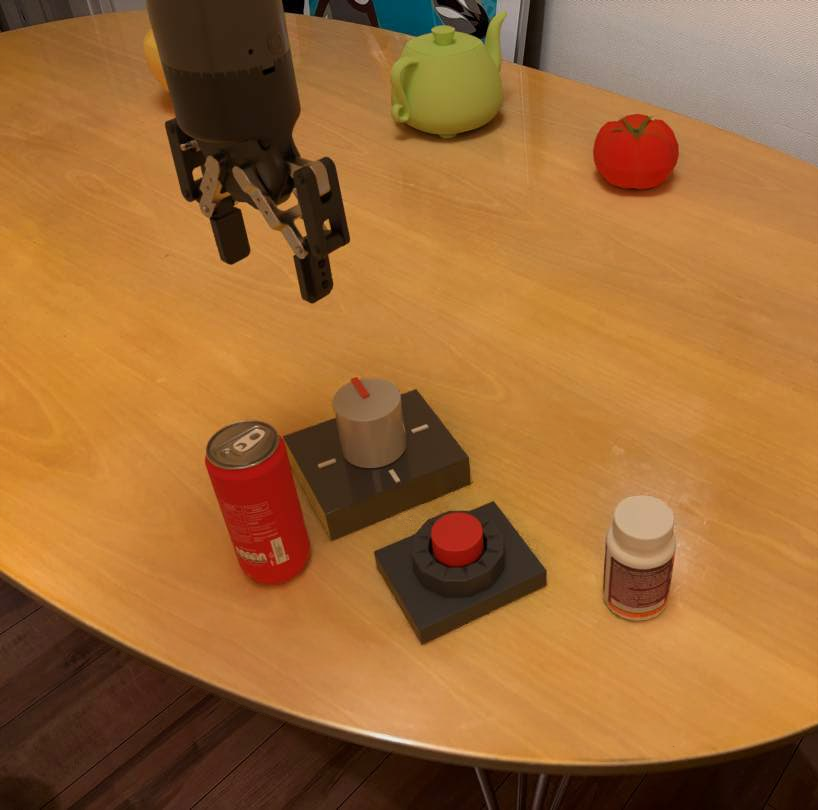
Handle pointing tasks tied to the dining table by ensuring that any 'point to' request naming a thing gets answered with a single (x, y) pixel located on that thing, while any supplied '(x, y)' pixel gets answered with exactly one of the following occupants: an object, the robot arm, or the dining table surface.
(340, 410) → the hob knob
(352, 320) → the dining table surface
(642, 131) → the tomato
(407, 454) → the panel
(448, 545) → the button
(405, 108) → the teapot
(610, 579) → the pill bottle
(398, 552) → the control block
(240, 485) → the beverage can
